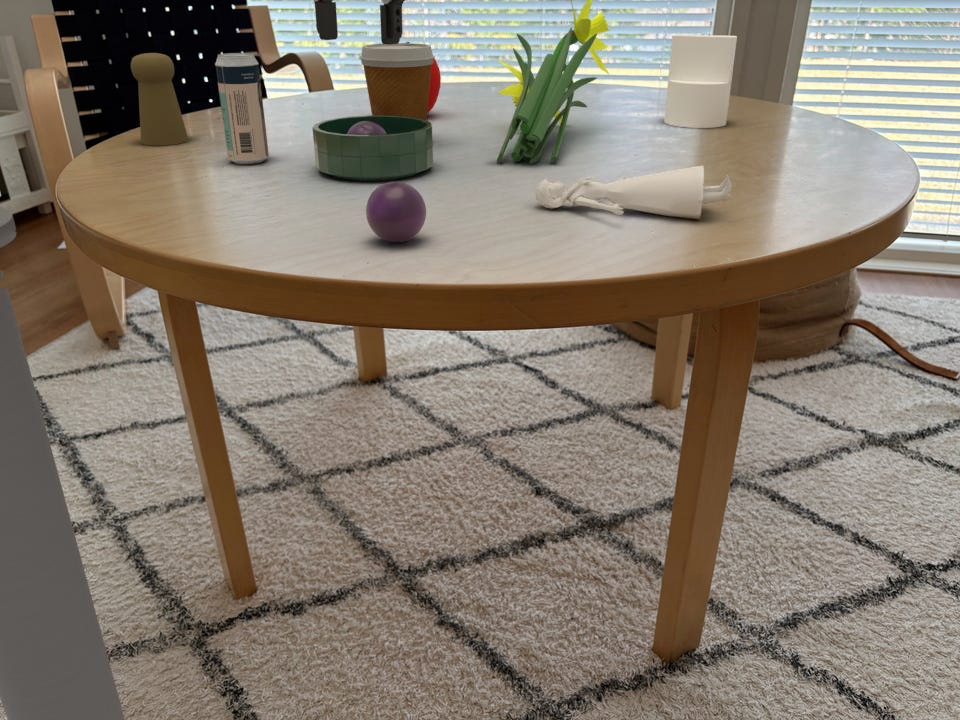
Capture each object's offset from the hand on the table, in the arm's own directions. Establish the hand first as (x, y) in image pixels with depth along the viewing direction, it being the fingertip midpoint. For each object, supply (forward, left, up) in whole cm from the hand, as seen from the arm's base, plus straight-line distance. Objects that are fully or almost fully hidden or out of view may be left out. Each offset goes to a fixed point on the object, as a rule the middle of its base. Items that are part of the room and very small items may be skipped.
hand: (359, 41), depth 86 cm
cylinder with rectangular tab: (+53, +14, -14) cm, 57 cm away
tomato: (+15, +35, -14) cm, 41 cm away
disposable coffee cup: (+8, +15, -14) cm, 22 cm away
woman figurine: (+19, -25, -14) cm, 35 cm away
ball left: (0, 0, -13) cm, 13 cm away
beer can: (-12, +11, -14) cm, 21 cm away
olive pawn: (-21, +28, -14) cm, 38 cm away
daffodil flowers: (+27, +9, -14) cm, 32 cm away
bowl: (+1, +1, -14) cm, 14 cm away
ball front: (-4, -26, -14) cm, 30 cm away
